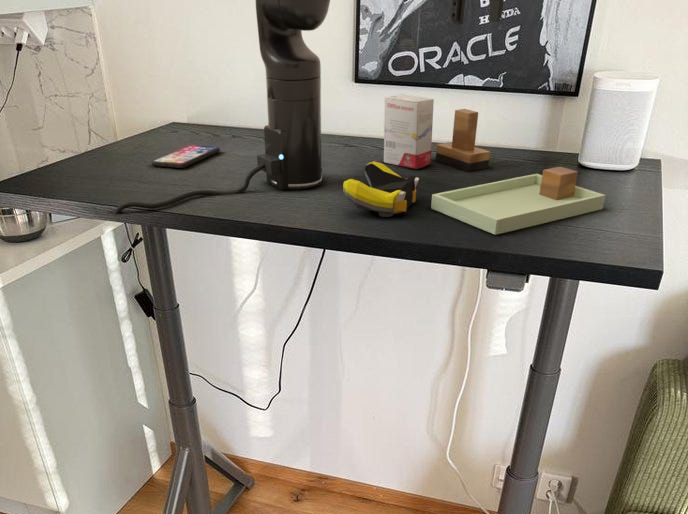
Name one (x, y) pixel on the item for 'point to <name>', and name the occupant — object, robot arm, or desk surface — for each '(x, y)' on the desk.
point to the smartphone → (185, 156)
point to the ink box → (408, 130)
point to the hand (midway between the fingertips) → (475, 23)
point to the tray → (512, 204)
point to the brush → (463, 144)
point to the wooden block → (558, 183)
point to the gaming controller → (382, 190)
